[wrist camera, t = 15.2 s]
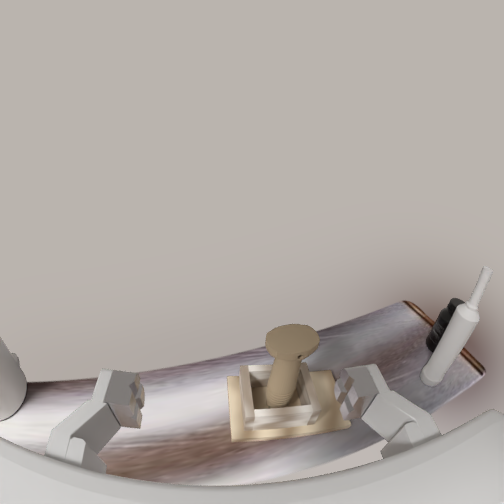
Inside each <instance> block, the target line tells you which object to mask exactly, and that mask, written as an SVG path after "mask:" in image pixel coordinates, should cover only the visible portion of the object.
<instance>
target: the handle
mask: <svg viewBox="0 0 504 504" xmlns="http://www.w3.org/2000/svg"><path fill="white" fill-rule="evenodd" d="M319 341H320V338H319V336H318V334H317V332H316V331H315V330H314V329H313V328H311V327H310V326H307V325H300V324H289V325H284V326H280V327H277V328H275V329H273V330H271V331H270V332H268V333H267V336H266V342H265V344H266V348H267V351H268V352H269V354H270V355H271V356H273V357H274V358H275V360H274V363H273V367H272V370H271V373H270V377H269V380H268V384H267V391H266V405H267V406H268V409H271V408H284V407H287V406H288V404H289V402H290V400H291V398H292V396H293V394H294V391H295V388H296V384H297V379H298V374H299V370H300V365H301V361H302V360H303V359H305V358H307V357H308V356H310V355H311V354H312V353H313V352H314V351H315V350H316V349H317V348H318V345H319Z"/></svg>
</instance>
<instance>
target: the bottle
mask: <svg viewBox="0 0 504 504" xmlns="http://www.w3.org/2000/svg"><path fill="white" fill-rule="evenodd" d="M492 273H493V270H492V269H491V268H489V267H487V266H484V267H483V269H482V271H481V274H480V276H479V279H478V282H477V284H476V286H475V289H474V291H473V293H472V295H471V297H470V299H469V300H468V301H467V302H466V303H464V304H460V305H458V306H457V307H456V310H455V312H454V314H453V316H452V318H451V320H450V322H449V324H448V326H447V328H446V330H445V332H444V334H443V336H442V338H441V340H440V342H439V344H438V345H437V347H436V349H435V351H434V353H433V354H432V356H431V358H430V360H429V361H428V363H427V364H426V365H425V366H424V367H423V369H422V371H421V374H420V378H421V380H422V382H423V383H424V384H425V385H427V386H430V387H434V386H437V385H438V384H439V383H440V382H441V381H442V379H443V377H444V375H445V373H446V372H447V370H448V369H449V368H450V366H451V365H452V363H453V362H454V360H455V359H456V357H457V356H458V354H459V353H460V351H461V350H462V348H463V347H464V345H465V343H466V342H467V340H468V339H469V337H470V335H471V334H472V332H473V330H474V329H475V327H476V325H477V323H478V322H479V320H480V316H479V313H478V304H479V302H480V300H481V298H482V295H483V293H484V291H485V289H486V286H487V284H488V282H489V280H490V278H491V275H492Z"/></svg>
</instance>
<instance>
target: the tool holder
mask: <svg viewBox="0 0 504 504" xmlns="http://www.w3.org/2000/svg"><path fill="white" fill-rule="evenodd" d="M272 367H273V365H247V366H240V375H239V376H227V384H228V399H229V413H230V427H231V439H232V442H249V441H264V440H276V439H286V438H294V437H302V436H309V435H315V434H321V433H327V432H333V431H338V430H343V429H347V428H349V427H350V426H351V422H350V420H346V421H344V420H343V417H342V414H341V411H340V406H341V404H340V403H339V402H338V401H337V400H336V398H335V393H334V386H335V380H334V378H333V375H332V372H331V370H324V371H314V372H309V370H308V366H307V363H306V362H304V363H301V365H300V370H299V374H298V379H297V384H296V388H295V391H294V394H293V396H292V398H291V400H290V402H289V404H288V406H287V407H284V408H271V409H268V406H267V405H266V391H267V384H268V380H269V377H270V373H271V370H272Z"/></svg>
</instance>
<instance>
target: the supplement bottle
mask: <svg viewBox="0 0 504 504" xmlns="http://www.w3.org/2000/svg"><path fill="white" fill-rule="evenodd" d="M464 303H465V302H463V301H462V300H460V299H457V298H452V299H451V300H450V303H449V304H448V306H447V308H444V309H443V310H441V312H440V314H439V316H438V318H437V320H436V322H435V324H434V326H433V328H432V330H431V332H430V333H429V335H428V337H427V340H426V344H427V347H428V348H429V350H430V351H432V352H433V353H434V351H435V349H436V347H437V345H438V344H439V342H440V340H441V338H442V336H443V334H444V332H445V330H446V328H447V326H448V324H449V322H450V320H451V318H452V316H453V314H454V312H455V310H456V307H457V306H458V305H460V304H464Z"/></svg>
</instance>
